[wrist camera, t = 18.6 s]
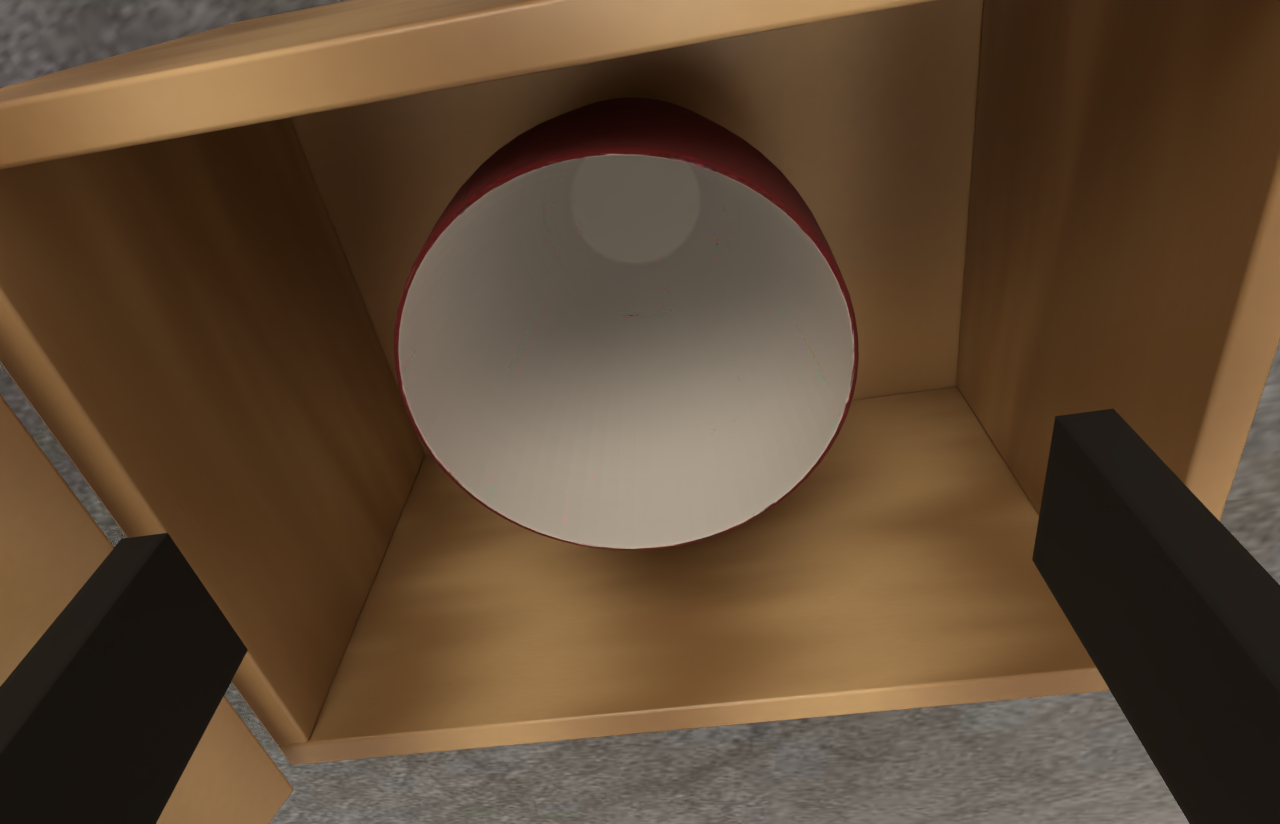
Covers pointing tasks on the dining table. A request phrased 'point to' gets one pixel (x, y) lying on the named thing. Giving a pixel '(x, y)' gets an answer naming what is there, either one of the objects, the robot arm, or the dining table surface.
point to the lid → (49, 579)
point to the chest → (862, 246)
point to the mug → (627, 331)
